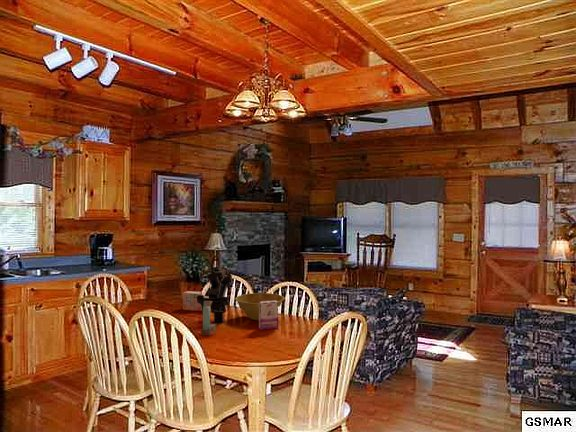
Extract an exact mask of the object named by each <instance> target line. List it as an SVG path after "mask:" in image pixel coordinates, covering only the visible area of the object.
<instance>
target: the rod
mask: <svg viewBox="0 0 576 432" xmlns="http://www.w3.org/2000/svg"><path fill="white" fill-rule="evenodd" d="M210 324H211V311H210V306H204V307H203V312H202V329H203V330H210Z"/></svg>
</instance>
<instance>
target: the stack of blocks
mask: <svg viewBox="0 0 576 432" xmlns="http://www.w3.org/2000/svg"><path fill="white" fill-rule="evenodd" d="M198 295H203V292H202V291H190V290H187V291H184V292H182V310H185V311H199V312H202V306H201V304H199V303H198V302H197V296H198ZM204 297H205V298H209V296H208V295H204ZM211 303H212V301H205V302H204V306H210V312H211Z"/></svg>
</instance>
